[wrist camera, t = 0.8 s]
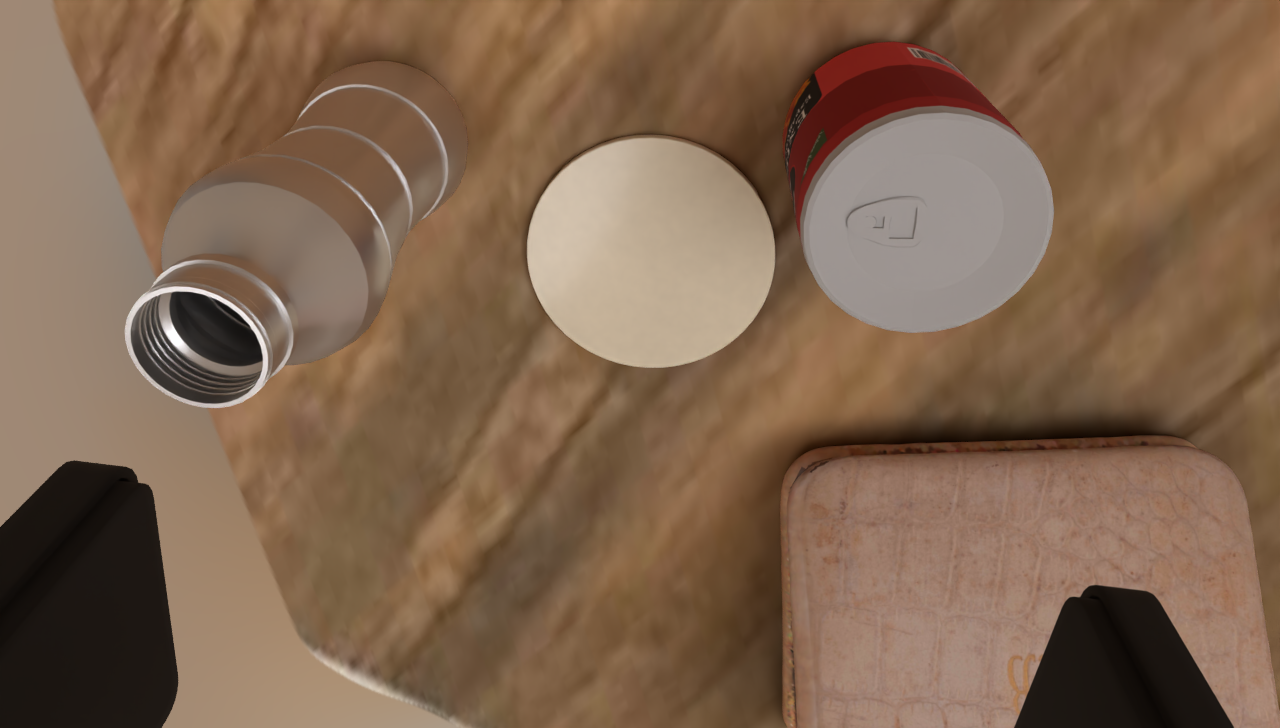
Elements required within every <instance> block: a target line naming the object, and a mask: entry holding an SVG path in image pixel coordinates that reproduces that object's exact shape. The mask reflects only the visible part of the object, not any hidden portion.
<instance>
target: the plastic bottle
mask: <svg viewBox="0 0 1280 728" xmlns="http://www.w3.org/2000/svg"><path fill="white" fill-rule="evenodd" d="M467 149H468V137H467V128H466V125H465V122H464V118H463V115H462V113H461V111H460V109H459V107H458V105H457V103H456V102H455V100H454V99H453V98H452V96H451V95H450V94H449V93H448V91H447V90H446V89H445V88H444V87H443V86H442V85H441V84H439V83H438V82H437V81H436V80H435V79H434V78H432V77H431V76H429V75H427V74H426V73H424V72H423V71H421V70H419V69H416V68H414V67H411V66H409V65H406V64H402V63H397V62H392V61H373V62H368V63H362V64H358V65H353V66H349V67H346V68H344V69H341V70H339V71H337V72H334V73H333V74H332V75H330V76H329V77H327V78H326V79H325V80H323V81H322V82H321V83H320V84H319V85H318V87H317V88H316V89H315V90H314V91H313V92H312V94H311V95H310V97H309V98H308V100H307V101H306V103H305V105H304V107H303V108H302V110H301V112H300V114H299V116H298V119H297V121H296V123H295V124H294V125H293V126H292V128H291V129H290V130H289V131H288V133H287V134H286V135H284V136H283V137H282V138H280V139H278V140H277V141H275V142H274V143H272V144H271V145H269V146H268V147H266V148H265V149H263V150H261V151H258V152H256V153H253V154H251V155H248V156H246V157H243V158H241V159H238V160H235V161H233V162H230V163H228V164H226V165H223V166H221V167H219V168H217V169H215V170H214V171H212V172H210V173H208V174H207V175H205V176H204V177H202V178H201V179H199V180H198V181H197V182H195V183H194V184H192V185H191V186H190V187H189V188H188V189H187V190H186V191H185V193H184V194H183V195H182V196H181V197H180V199H179V200H178V201H177V203H176V206H175V208H174V210H173V212H172V214H171V216H170V218H169V221H168V224H167V227H166V230H165V233H164V238H163V243H162V248H161V253H162V269H163V273H162V274H161V275H160V276H159V277H158V278H157V279H156V280H155V282H154V283H153V285H152V287H151V288H150V289H149V290H148V291H147V292H146V293H144V294H143V295H142V296H141V297H140V299H139V300H138V301H137V302H136V303H135V305H134V306H133V308H132V309H131V312H130V313H129V315H128V317H127V321H126V327H125V339H126V344H127V347H128V352H129V354H130V356H131V358H132V360H133V362H134V364H135V365H136V367H137V368H138V370H139V371H140V372H141V373H142V375H143V376H144V377H145V378H146V379H147V380H148V381H149V382H150V383H151V384H152V385H153V386H155V387H156V388H158V389H159V390H160V391H162V392H163V393H165V394H167V395H169V396H170V397H172V398H174V399H176V400H178V401H181V402H184V403H187V404H190V405H194V406H199V407H204V408H221V407H229V406H233V405H236V404H238V403H241V402H243V401H245V400H247V399H248V398H250V397H251V396H253V395H254V394H256V393H257V392H258V391H259V390H260V389H261V388H262V387H263V386H264V385H265V383H266V382H267V381H268V379H269V378H270V377H272V376H274V375H275V374H276V373H277V372H278V371H279V370H280V369H281V368H282V367H283V366H284V365H298V364H305V363H311V362H314V361H317V360H320V359H322V358H325V357H328V356H330V355H331V354H333V353H335V352H337V351H339V350H341V349H342V348H344V347H346V346H347V345H349V344H351V343H352V342H354V341H356V340H357V339H358V338H359V337H360V336H361V335H362V334H363V333H364V332H365V331H366V330H367V329H368V328H369V327H370V325H371V324H372V322H373V321H374V319H375V318H376V316H377V314H378V313H379V310H380V308H381V305H382V303H383V301H384V299H385V296H386V293H387V290H388V287H389V283H390V279H391V276H392V272H393V268H394V264H395V261H396V257H397V254H398V252H399V250H400V248H401V246H402V244H403V242H404V240H405V238H406V236H407V235H408V233H409V231H410V230H411V229H412V228H413V227H414V226H415V225H416V224H417V223H418V222H419V221H421V220H423V219H424V218H426V217H427V216H429V215H431V214H432V213H433V212H435V211H436V210H437V209H438V208H439V207H441V206H442V205H443V204H444V203H445V202H446V201H447V200H448V199H449V198H450V197H451V196H452V195H453V193H454V192H455V190H456V189H457V187H458V186H459V184H460V182H461V179H462V177H463V174H464V171H465V167H466V159H467Z"/></svg>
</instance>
